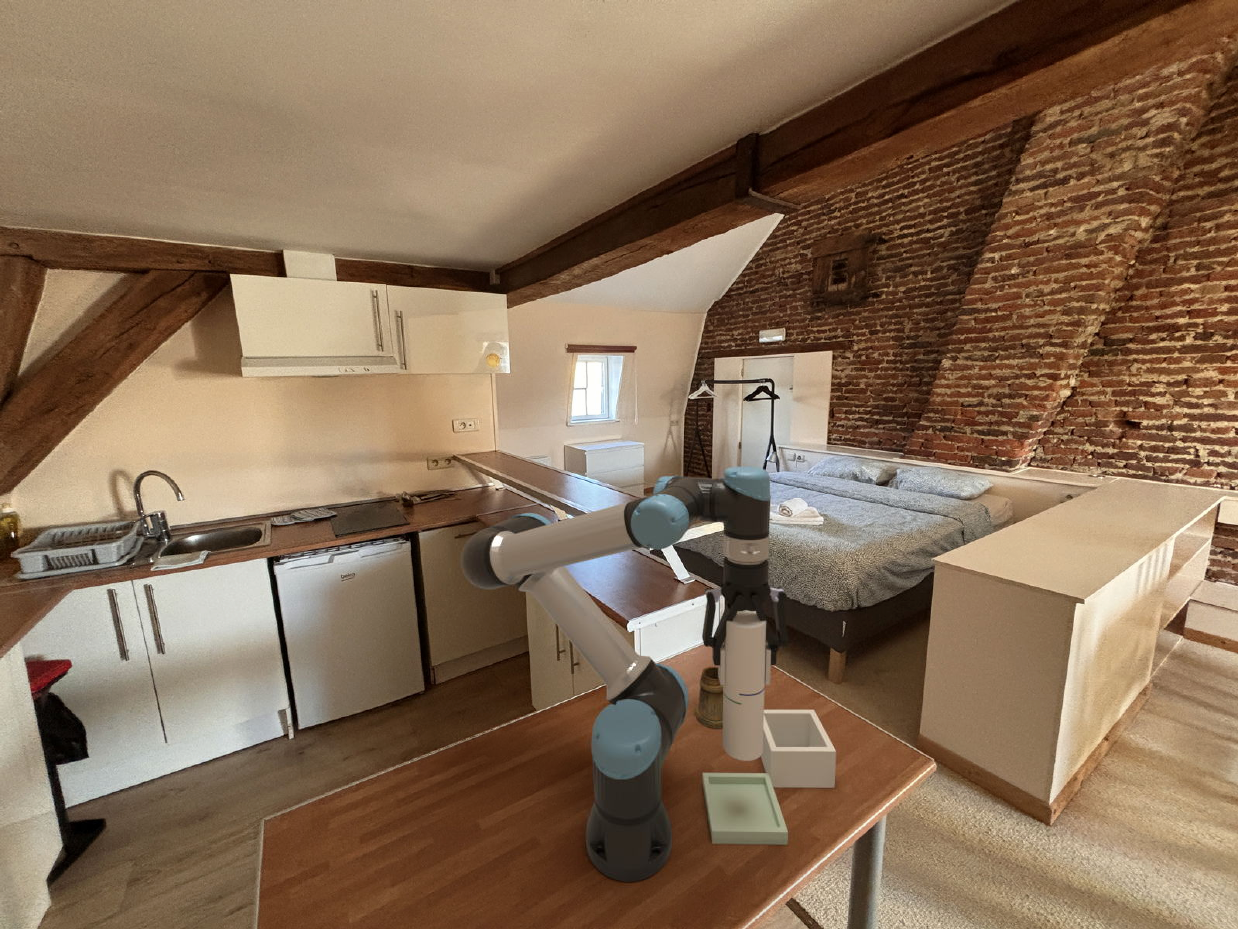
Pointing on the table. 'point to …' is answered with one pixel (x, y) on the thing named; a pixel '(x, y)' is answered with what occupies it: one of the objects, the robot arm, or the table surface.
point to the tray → (743, 809)
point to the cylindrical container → (744, 686)
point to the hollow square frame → (797, 750)
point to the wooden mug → (710, 699)
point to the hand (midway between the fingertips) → (743, 680)
